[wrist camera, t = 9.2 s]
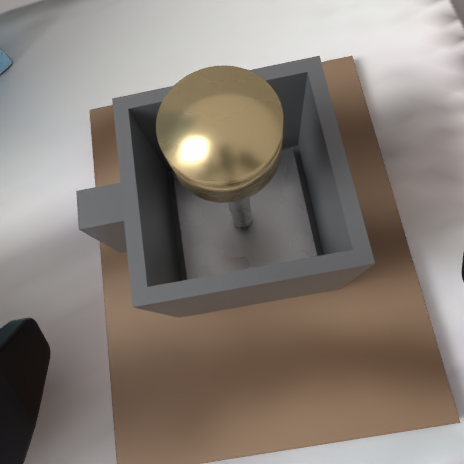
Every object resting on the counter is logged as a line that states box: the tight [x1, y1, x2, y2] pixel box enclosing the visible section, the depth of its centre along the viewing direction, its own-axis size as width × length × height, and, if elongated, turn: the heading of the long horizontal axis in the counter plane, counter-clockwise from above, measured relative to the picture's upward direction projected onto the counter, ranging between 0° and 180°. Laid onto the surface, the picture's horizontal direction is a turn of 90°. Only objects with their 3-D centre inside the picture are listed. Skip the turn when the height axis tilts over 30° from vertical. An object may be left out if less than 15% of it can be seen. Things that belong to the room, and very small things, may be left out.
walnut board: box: [90, 56, 460, 464], centre depth 22 cm, size 20×16×1 cm
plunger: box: [156, 66, 317, 280], centre depth 16 cm, size 6×6×10 cm
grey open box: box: [77, 56, 375, 318], centre depth 18 cm, size 8×10×7 cm
